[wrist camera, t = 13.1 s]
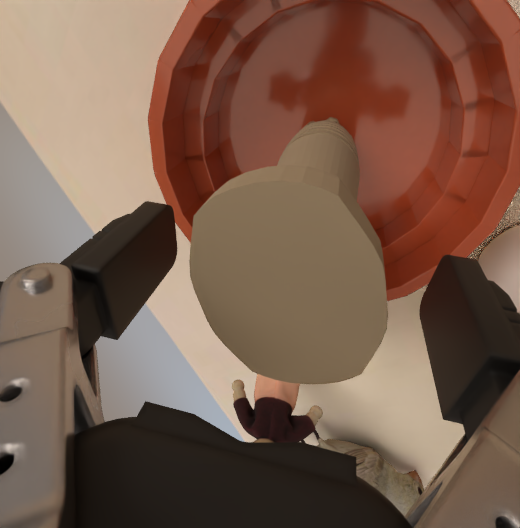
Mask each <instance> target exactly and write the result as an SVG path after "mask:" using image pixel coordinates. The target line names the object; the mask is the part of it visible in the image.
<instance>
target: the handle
mask: <svg viewBox="0 0 520 528" xmlns="http://www.w3.org/2000/svg"><path fill="white" fill-rule="evenodd" d="M359 180H360V170H359V159H358V154H357V149H356V146H355V143H354V140H353V138H352V136H351V135H350V134H349V132H348V131H347V130H346V129H345V128H344V127H343V126H341V125H340V124H339V121H338V119H336V118H333V117H329V118H328V119H327V120H323V121H317V122H315V121H310V122H309V123H308V124H306V125H305V126H304V127H303V129H301V130H300V131H299V132H298V133H297V134H296V135H295V136H294V137H293V138H292V139H291V141H290V142H289V143H288V145H287V146H286V148H285V150H284V151H283V153H282V155H281V157H280V159H279V161H278V164H277V166H270V167H264V168H260V169H256V170H253V171H249V172H246V173H243V174H241V175H239V176H237V177H235V178H233V179H231V180H229V181H228V182H226V183H225V184H224V185H223V186H221V187H220V188H219V189H218V190H217V191H215V192H214V194H213V195H212V196H211V197H210V198H209V199H208V200H207V201H206V202H205V203H204V205H203V206H202V207H201V208H200V209H199V210H198V211H197V213H196V214H195V215H194V216H193V226H192V236H191V247H190V277H191V280H192V284H193V287H194V290H195V293H196V295H197V298H198V300H199V302H200V305H201V307H202V309H203V312H204V314H205V316H206V319H207V321H208V322H209V324H210V326H211V328H212V330H213V331H214V333H215V334H216V335H217V336H218V338H219V339H220V340H221V341H222V342H223V344H224V345H225V346H226V347H227V348H228V349H229V350H230V351H231V352H232V353H233V354H234V355H235V356H236V357H238V358H239V359H240V360H241V361H242V362H243V363H244V364H245V365H246V366H247V367H248V368H249V369H250V370H251V371H253V372H255V373H257V374H260V375H262V376H265V377H268V378H271V379H274V380H278V381H283V382H289V383H298V384H327V383H335V382H340V381H344V380H347V379H350V378H353V377H355V376H357V375H360V374H362V372H363V371H364V369H365V368H366V366H367V365H368V363H369V362H370V360H371V358H372V357H373V355H374V354H375V352H376V350H377V349H378V347H379V345H380V344H381V342H382V339H383V337H384V334H385V332H386V329H387V317H388V311H387V294H386V279H385V268H384V259H383V252H382V247H381V242H380V239H379V237H378V236H377V234H376V232H375V230H374V229H373V227H372V225H371V223H370V221H369V220H368V218H367V216H366V215H365V213H364V212H363V210H362V209H361V207H360V205H359V204H358V203H357V195H358V187H359Z"/></svg>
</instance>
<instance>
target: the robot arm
mask: <svg viewBox="0 0 520 528" xmlns="http://www.w3.org/2000/svg"><path fill="white" fill-rule="evenodd" d="M176 255H177V241H176V229H175V218H174V211H173V208H172V206H170V205H165V204H160V203H154V202H148V201H147V202H144V203H143V204H142V205H141V206H140V207H138V208H137V209H136V210H135V211H134V212H133V213H131V214H127V215H124V216H122V217H120V218H117V219H115V220H113V221H111V222H110V223H109V224H108V225H107V226H105V227H104V228H103V229H102V231H99V232H98V233H97V234H95V235H94V236H93V239H89V240H88V241H87V242H86V243H84V244H83V245H82V246H81V247H79V248H78V249H77V250H76V251H74V252H73V253H72V254H71V255H70V256H69V257H67V258H66V259H65V260H63V261H62V262H61V263H60V264H58V263H40V264H35V265H31V266H28V267H25V268H23V269H21V270H18V271H17V272H15V273H13V274H12V275H11V276H9V277H8V278H7V279H6V280H5V281H4V282H0V528H520V314H519V313H518V312H517V308H516V307H515V305H514V303H513V301H512V300H511V298H510V296H509V295H508V294H507V293H506V292H505V291H504V290H503V289H502V288H500V287H499V286H498V285H497V284H496V283H495V282H494V281H490V280H487V278H486V276H485V274H484V272H483V270H482V268H481V266H480V264H479V263H478V261H477V260H475V259H470V258H464V257H458V256H453V255H444V256H443V257H442V258H441V260H440V262H439V264H438V266H437V268H436V270H435V272H434V274H433V276H432V278H431V280H430V282H429V284H428V287H427V289H426V291H425V293H424V295H423V297H422V300H421V304H420V320H421V324H422V329H423V333H424V337H425V342H426V346H427V351H428V355H429V359H430V364H431V368H432V373H433V377H434V381H435V386H436V390H437V395H438V399H439V403H440V408H441V412H442V417H443V419H444V420H448V421H452V422H456V423H460V424H463V426H464V430H465V434H464V436H463V437H462V438H461V439H460V440H459V442H458V443H457V445H456V446H455V447H454V449H453V450H452V452H451V453H450V455H449V456H448V457H447V459H446V460H445V462H444V463H443V464H442V466H441V467H440V469H439V470H438V472H437V473H436V474H435V476H434V477H433V479H432V480H431V482H430V483H429V484H428V486H427V487H426V489H425V490H424V491H423V493H422V494H421V496H420V497H419V498H418V500H417V501H416V502H415V503H414V505H413V506H412V507H411V508H410V510H409V511H408V512H407V514H406V515H405V516H404V515H403V514H402V513H401V512H400V511H399V510H398V509H397V508H396V507H395V505H394V504H393V503H392V502H391V501H390V500H389V499H388V498H386V497H385V496H384V495H383V494H382V493H381V492H380V491H379V490H377V489H376V488H375V487H373V486H372V485H371V484H369V483H368V482H366V481H365V480H363V479H362V478H360V477H358V476H356V457H355V456H351V455H347V454H343V453H340V452H336V451H332V450H328V449H324V448H321V447H317V446H313V445H309V444H305V443H302V442H251V443H248V442H242V441H239V440H237V439H235V438H234V437H232V436H230V435H229V434H227V433H225V432H224V431H222V430H220V429H218V428H217V427H215V426H213V425H212V424H210V423H208V422H207V421H205V420H203V419H201V418H200V417H198V416H196V415H195V414H191V413H188V412H184V411H180V410H176V409H173V408H169V407H165V406H161V405H157V404H153V403H150V402H145V403H144V405H143V407H142V409H141V410H140V412H139V414H138V416H137V417H128V418H121V419H115V420H112V421H107V422H105V421H104V417H103V413H102V406H101V396H100V384H99V373H98V360H97V350H96V346H95V343H96V341H97V340H98V339H99V338H100V336H104V337H107V338H111V339H116V340H118V338H119V337H120V336H121V334H122V333H123V332H124V330H125V329H126V328H127V326H128V325H129V324H130V322H131V321H132V319H133V318H134V317H135V316H136V314H137V313H138V312H139V310H140V309H141V308H142V306H143V305H144V304H145V302H146V301H147V300H148V298H149V297H150V296H151V294H152V293H153V292H154V290H155V289H156V288H157V286H158V285H159V284H160V282H161V281H162V280H163V278H164V277H165V276H166V274H167V273H168V272H169V270H170V269H171V268H172V266H173V265H174V262H175V260H176Z"/></svg>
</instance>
